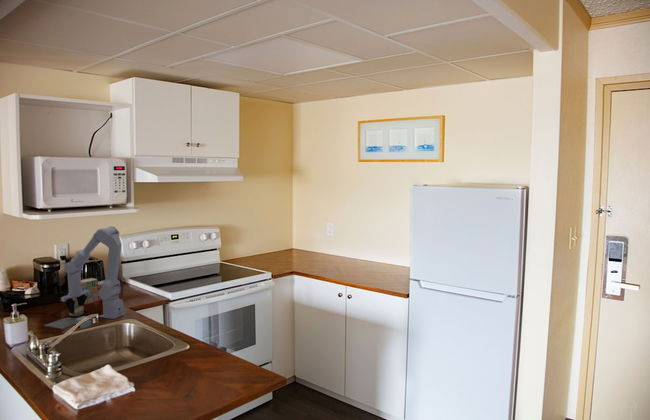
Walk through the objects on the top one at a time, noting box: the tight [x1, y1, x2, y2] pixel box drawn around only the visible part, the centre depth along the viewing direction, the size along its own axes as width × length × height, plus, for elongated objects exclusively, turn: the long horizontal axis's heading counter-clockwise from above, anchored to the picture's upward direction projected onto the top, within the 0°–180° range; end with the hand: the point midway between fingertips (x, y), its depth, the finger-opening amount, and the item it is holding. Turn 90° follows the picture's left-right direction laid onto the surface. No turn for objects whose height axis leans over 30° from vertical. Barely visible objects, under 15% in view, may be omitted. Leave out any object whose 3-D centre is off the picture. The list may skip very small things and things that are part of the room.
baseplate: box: [43, 317, 76, 330], centre depth 218 cm, size 12×12×1 cm
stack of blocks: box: [73, 277, 104, 306], centre depth 255 cm, size 21×6×12 cm, turn 143°
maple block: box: [68, 305, 85, 317], centre depth 232 cm, size 4×4×4 cm
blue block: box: [75, 315, 92, 329], centre depth 215 cm, size 4×4×4 cm
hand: (76, 311), depth 232 cm, fingers closed on maple block, 4 cm apart
